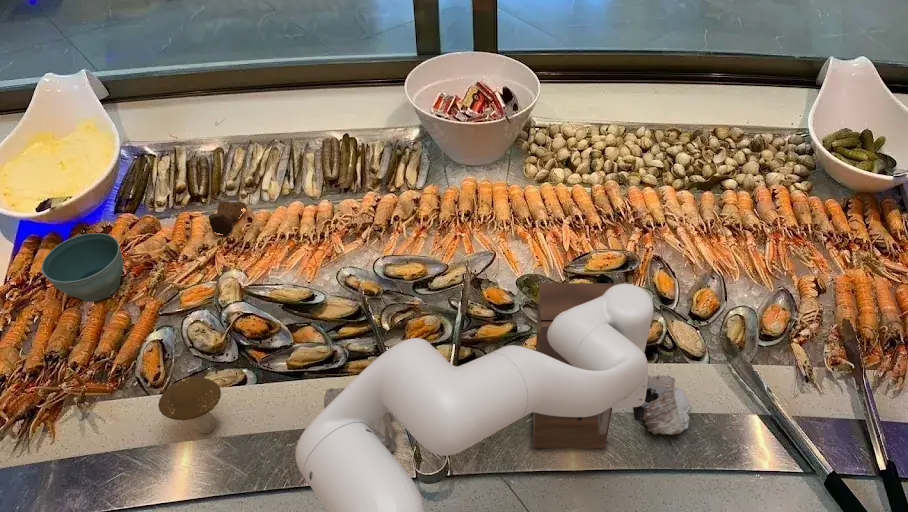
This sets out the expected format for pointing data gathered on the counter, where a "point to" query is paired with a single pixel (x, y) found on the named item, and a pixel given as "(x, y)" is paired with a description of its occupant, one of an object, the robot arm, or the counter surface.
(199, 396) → the mushroom
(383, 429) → the stone
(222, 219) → the sculpture
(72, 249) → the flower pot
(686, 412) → the seashell
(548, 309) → the cupboard
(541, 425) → the door
